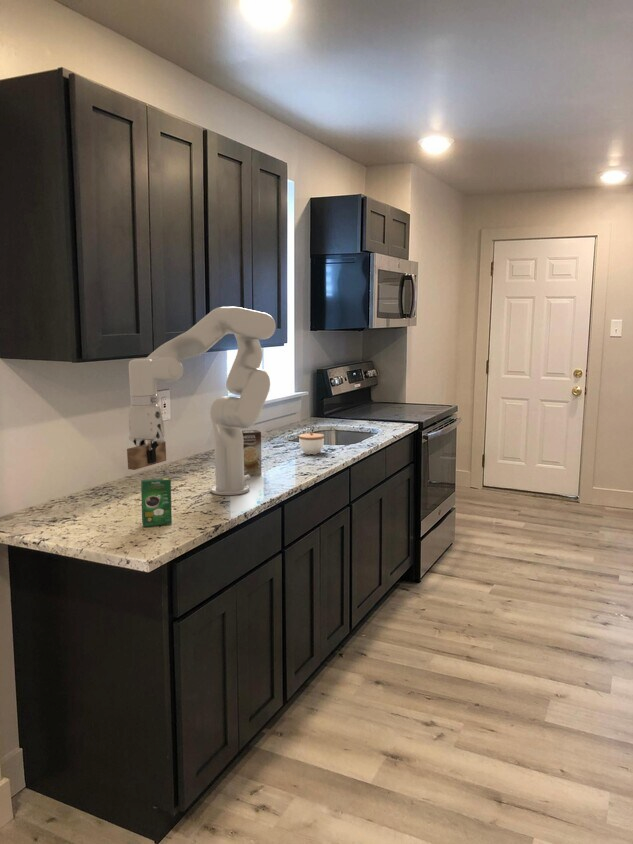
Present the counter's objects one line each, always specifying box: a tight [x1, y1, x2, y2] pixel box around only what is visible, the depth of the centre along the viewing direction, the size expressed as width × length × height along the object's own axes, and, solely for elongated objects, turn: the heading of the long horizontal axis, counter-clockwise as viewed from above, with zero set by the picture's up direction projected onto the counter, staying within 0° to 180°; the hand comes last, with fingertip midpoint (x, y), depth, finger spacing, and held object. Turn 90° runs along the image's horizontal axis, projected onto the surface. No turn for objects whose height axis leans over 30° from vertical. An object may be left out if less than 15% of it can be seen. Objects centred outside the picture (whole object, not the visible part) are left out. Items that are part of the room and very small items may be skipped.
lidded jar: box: [298, 431, 325, 455], centre depth 288 cm, size 11×11×9 cm
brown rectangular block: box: [126, 440, 167, 471], centre depth 202 cm, size 14×2×6 cm, turn 153°
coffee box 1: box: [140, 477, 173, 528], centre depth 188 cm, size 8×3×13 cm, turn 111°
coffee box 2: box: [241, 429, 263, 477], centre depth 249 cm, size 9×6×16 cm
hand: (147, 461), depth 202 cm, fingers closed on brown rectangular block, 2 cm apart
